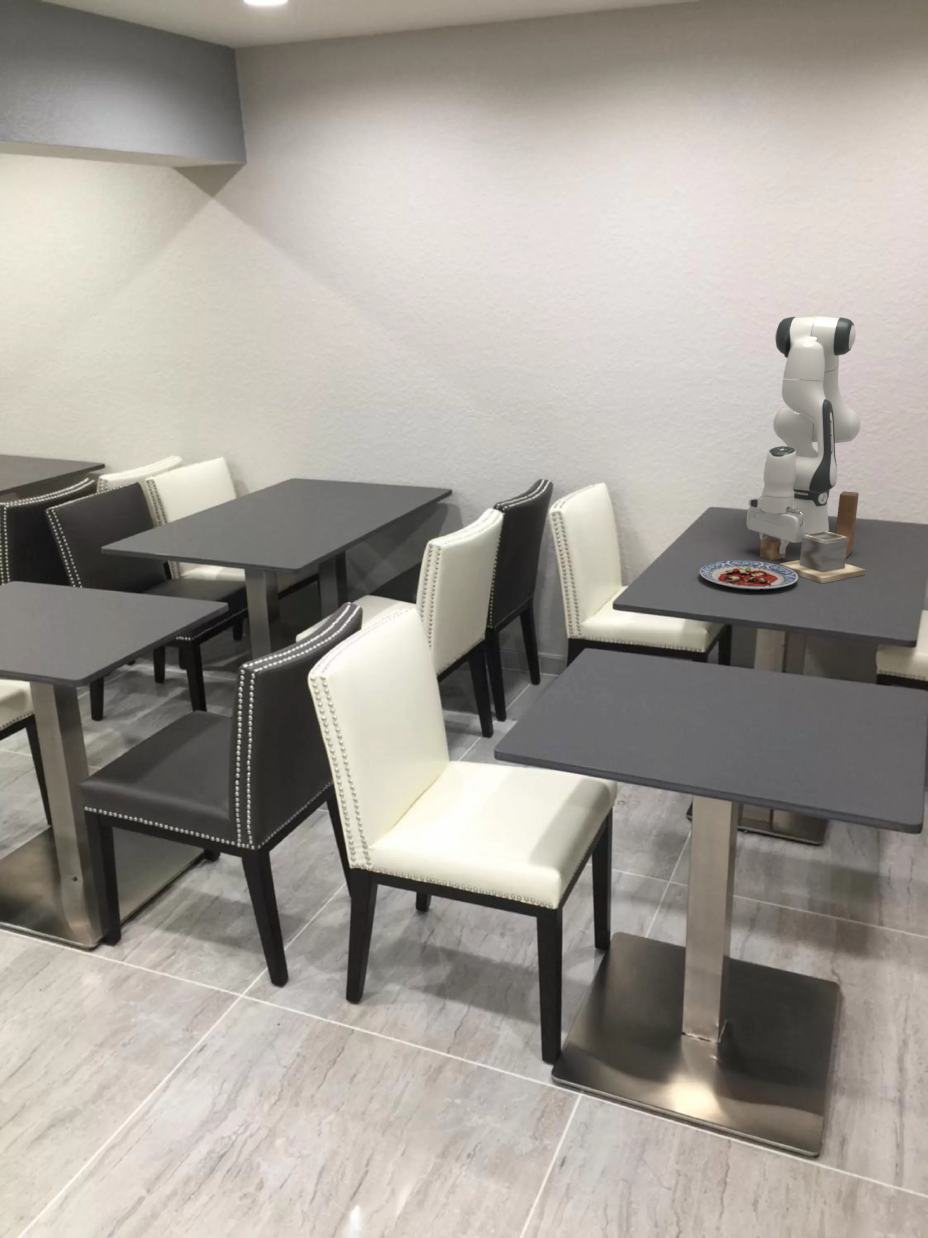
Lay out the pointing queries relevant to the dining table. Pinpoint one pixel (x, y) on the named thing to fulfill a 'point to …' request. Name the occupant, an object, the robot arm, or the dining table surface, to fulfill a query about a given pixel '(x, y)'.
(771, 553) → the walnut cube
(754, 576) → the ceramic plate
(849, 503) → the wooden block
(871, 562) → the dining table surface
